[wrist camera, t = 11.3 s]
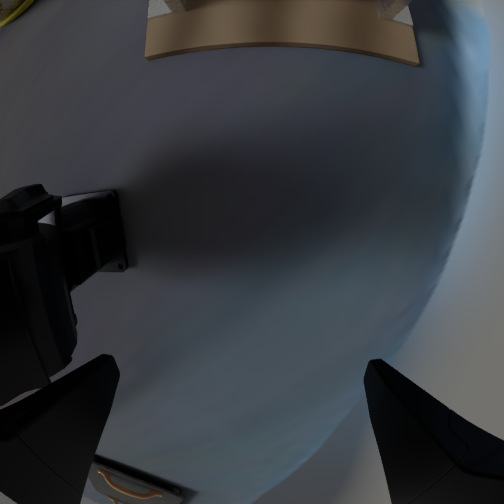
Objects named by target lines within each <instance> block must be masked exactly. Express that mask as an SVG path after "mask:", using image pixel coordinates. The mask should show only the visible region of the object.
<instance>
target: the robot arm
mask: <svg viewBox="0 0 504 504" xmlns="http://www.w3.org/2000/svg"><path fill="white" fill-rule="evenodd" d="M110 194H112V196H113V199H111V198H110ZM125 249H126V242H125V236H124V229H123V222H122V217H121V216H120V209H119V200H118V194H117V192H116V191H115V190H108V191H100V192H93V193H87V194H80V195H74V196H68V197H62V196H54V195H51V194H48V192H46V191H45V189H44V187H43V186H42V184H33V185H29V186H25V187H21V188H18V189H15V190H13V191H12V192H10V193H9V194H7V195H6V196H4V197H3V198H1V199H0V406H2V405H4V404H6V403H7V402H9V401H11V400H12V399H14V398H15V397H17V396H19V395H20V394H22V393H24V392H27V391H31V390H34V389H39V388H42V389H40V390H38V391H37V392H35V393H34V394H31V395H29V396H28V397H26V398H24V399H22V400H20V401H18V402H16V403H14V404H12V405H10V406H7V407H5V408H3V409H0V504H80V502H81V498H82V494H83V491H84V488H85V484H86V481H87V477H88V474H89V471H90V468H91V465H92V462H93V458H94V455H95V452H96V449H97V447H98V444H99V441H100V438H101V435H102V432H103V430H104V427H105V424H106V421H107V419H108V416H109V413H110V410H111V407H112V404H113V400H114V396H115V392H116V389H117V385H118V381H119V378H120V372H119V369H118V367H117V364H116V362H115V359H114V357H113V356H112V355H107V354H102V355H100V356H98V357H96V358H95V359H93V360H91V361H89V362H88V363H86V364H84V365H82V366H81V367H79V368H77V369H75V370H74V371H72V372H70V373H68V374H67V375H65V376H63V377H61V378H60V379H58V380H56V381H54V382H53V383H51V380H50V378H49V377H51V376H53V375H55V374H56V373H58V372H60V371H61V370H63V369H64V368H65V367H66V366H67V365H68V364H69V363H70V362H71V361H72V356H71V355H72V353H73V351H74V349H75V347H76V345H77V330H76V325H77V317H76V314H74V310H73V305H72V300H71V295H70V292H71V291H72V290H74V289H75V288H76V287H77V286H79V285H81V284H82V283H83V282H85V281H86V280H87V279H88V278H90V277H91V276H92V275H93V274H95V273H96V272H124V271H125V270H126V269H127V268H128V262H127V256H126V250H125ZM120 264H122V265H123V267H121V265H120ZM364 386H365V392H366V398H367V403H368V409H369V415H370V420H371V424H372V427H373V430H374V434H375V438H376V441H377V445H378V449H379V453H380V456H381V460H382V464H383V468H384V472H385V476H386V480H387V484H388V489H389V493H390V498H391V503H392V504H504V440H502V439H500V438H498V437H496V436H493V435H492V434H490V433H488V432H486V431H484V430H483V429H481V428H479V427H477V426H476V425H474V424H472V423H470V422H469V421H467V420H466V419H464V418H463V417H461V416H460V415H458V414H457V413H455V412H454V411H453V410H451V409H449V408H448V407H447V406H445V405H444V404H443V403H441V402H440V401H438V400H437V399H436V398H434V397H433V396H432V395H430V394H429V393H427V392H426V391H425V390H423V389H422V388H420V387H419V386H418V385H416V384H415V383H413V382H412V381H411V380H409V379H408V378H407V377H405V376H404V375H403V374H401V373H400V372H398V371H397V370H396V369H394V368H393V367H392V366H390V365H389V364H387V363H386V362H385V361H383V360H382V359H373V360H370V361H369V362H368V365H367V369H366V372H365V375H364Z"/></svg>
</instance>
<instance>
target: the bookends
mask: <svg viewBox="0 0 504 504" xmlns="http://www.w3.org/2000/svg"><path fill="white" fill-rule="evenodd" d="M412 1H413V0H375V4H376V8H377V12H378V16H379V18H381V19H385V20H388V21H392V22H396V23H399V24H402V25H405V26H409V27H412V26H413V22H412V18H411V15H410V11H409V8H408V4H410V3H411V2H412ZM184 12H187V0H150V2H149V9H148V17H147V18H148V19H149V20H152V19H156V18H160V17H164V16H169V15H173V14H178V13H184Z"/></svg>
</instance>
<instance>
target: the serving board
mask: <svg viewBox="0 0 504 504" xmlns="http://www.w3.org/2000/svg"><path fill="white" fill-rule="evenodd" d="M96 461H97V457H96V456H95V455H94V458H93V462H92V465H91V468H90V471H89V474H88V476H89V478H90V480H91V482H92V484H93V486H94V488H95V489H96V490H97V491H98V492H100V493H102V494H104V495H106V496H108V497H109V499H110V500H112V501H113V502H114V504H118V503H117V501H119V502H121V503H123V504H180V503H181V502H182V501H183V500H184V498H185V497H184V496H182V495H180V494H178V493H179V492H180V488H178V487H175V486H171V487H170V490H167V489H164V488H161V487H159V486H156V485H154V484H151V483H148V482H146V481H143V480H141V479H138V478H136V477H133V476H131V475H128V474H126V473H123V472H121V471H118V470H115V469H113V468H111V467H108V466H105V465H103V464H100V463H98V462H96Z"/></svg>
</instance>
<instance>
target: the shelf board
mask: <svg viewBox="0 0 504 504" xmlns="http://www.w3.org/2000/svg"><path fill="white" fill-rule="evenodd" d="M254 46H288V47H308V48H320V49H330V50H338V51H346V52H353V53H359V54H364V55H370V56H375V57H380V58H384V59H389V60H393V61H397V62H401V63H405V64H408V65H412V66H416V65H418V64H419V58H418V52H417V47H416V42H415V37H414V33H413V29H412V27H409V26H405V25H402V24H399V23H396V22H392V21H388V20H385V19H381V18H379V16H378V12H377V8H376V4H375V0H187V12H184V13H178V14H173V15H169V16H164V17H160V18H156V19H152V20H149V19H148V25H147V35H146V46H145V58H147V59H148V60H152V59H157V58H161V57H166V56H171V55H177V54H183V53H189V52H196V51H203V50H212V49H221V48H234V47H254Z"/></svg>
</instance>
